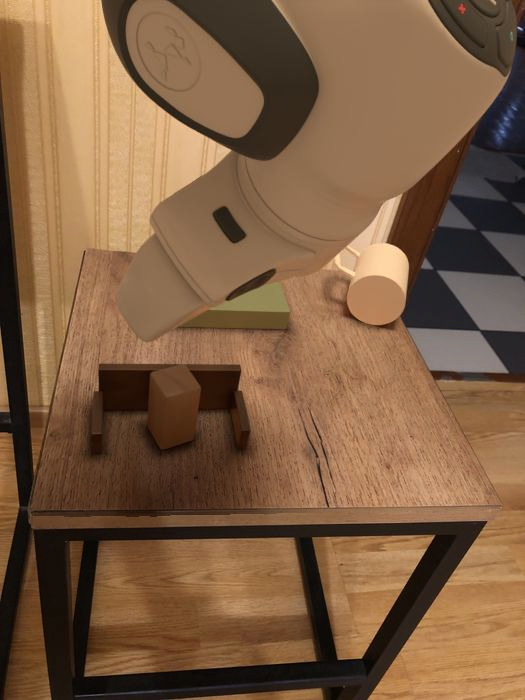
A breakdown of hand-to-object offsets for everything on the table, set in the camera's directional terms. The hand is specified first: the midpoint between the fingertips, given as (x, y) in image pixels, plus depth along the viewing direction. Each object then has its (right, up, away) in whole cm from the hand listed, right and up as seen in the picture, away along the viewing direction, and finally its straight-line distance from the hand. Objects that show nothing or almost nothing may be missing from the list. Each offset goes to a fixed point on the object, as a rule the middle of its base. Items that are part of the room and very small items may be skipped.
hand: (213, 295), depth 48 cm
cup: (+18, +3, +34) cm, 39 cm away
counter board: (-1, +2, +34) cm, 34 cm away
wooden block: (-6, -14, +15) cm, 21 cm away
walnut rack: (-6, -13, +14) cm, 21 cm away
